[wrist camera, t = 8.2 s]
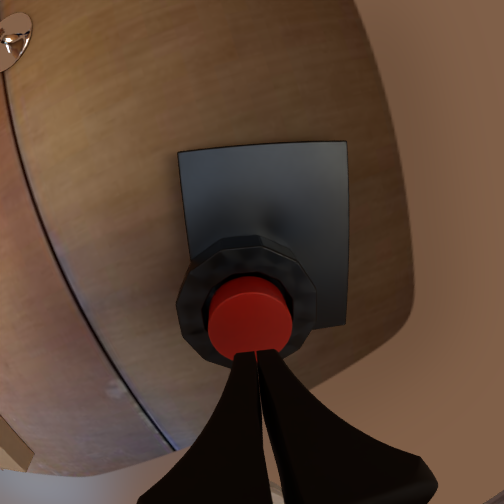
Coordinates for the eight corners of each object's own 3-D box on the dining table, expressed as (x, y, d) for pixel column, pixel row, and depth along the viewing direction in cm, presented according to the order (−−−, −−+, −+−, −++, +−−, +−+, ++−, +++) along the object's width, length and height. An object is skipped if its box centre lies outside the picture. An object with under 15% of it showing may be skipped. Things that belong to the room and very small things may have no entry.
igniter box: (333, 317, 20) (355, 353, 16) (195, 333, 19) (190, 374, 15) (332, 141, 16) (362, 140, 12) (168, 153, 16) (152, 154, 12)
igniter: (286, 337, 16) (293, 358, 14) (214, 345, 15) (214, 367, 14) (283, 271, 14) (291, 287, 13) (204, 279, 14) (202, 296, 13)
